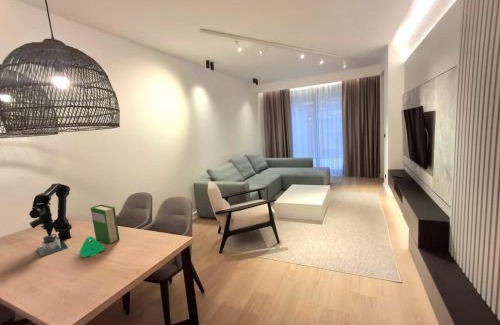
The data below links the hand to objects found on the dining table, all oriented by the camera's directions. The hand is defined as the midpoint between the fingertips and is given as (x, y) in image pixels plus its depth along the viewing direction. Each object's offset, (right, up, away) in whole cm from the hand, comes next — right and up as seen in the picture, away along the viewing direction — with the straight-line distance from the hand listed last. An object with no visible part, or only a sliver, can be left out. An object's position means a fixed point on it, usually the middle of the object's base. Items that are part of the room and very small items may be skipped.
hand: (49, 235), depth 163 cm
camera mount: (+35, -9, -9) cm, 37 cm away
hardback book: (+33, -6, +9) cm, 35 cm away
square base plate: (+1, -9, +1) cm, 10 cm away
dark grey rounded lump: (0, -6, +1) cm, 6 cm away
